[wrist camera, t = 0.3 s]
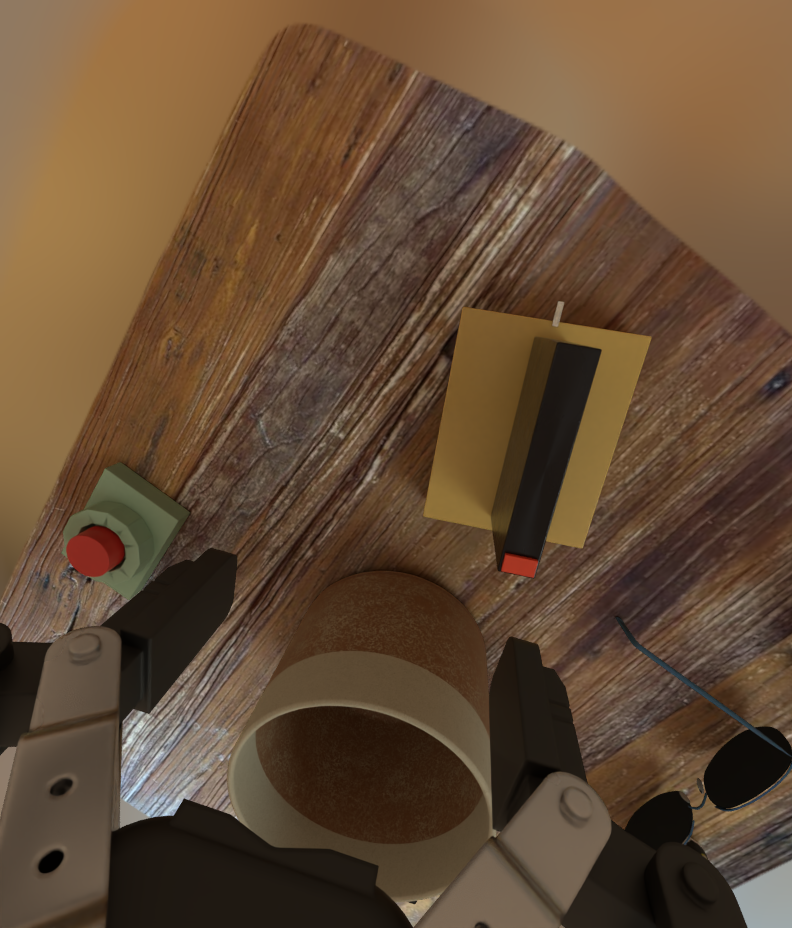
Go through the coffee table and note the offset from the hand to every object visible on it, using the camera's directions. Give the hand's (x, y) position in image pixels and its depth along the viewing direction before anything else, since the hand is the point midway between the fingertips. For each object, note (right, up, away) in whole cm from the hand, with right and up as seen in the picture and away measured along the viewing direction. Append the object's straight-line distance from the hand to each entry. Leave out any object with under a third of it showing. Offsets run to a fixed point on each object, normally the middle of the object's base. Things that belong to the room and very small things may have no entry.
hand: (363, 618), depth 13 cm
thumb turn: (+9, +6, +16) cm, 19 cm away
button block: (-22, -1, +26) cm, 34 cm away
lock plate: (+10, +7, +19) cm, 22 cm away
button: (-22, -2, +23) cm, 32 cm away
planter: (+1, -11, +26) cm, 28 cm away
